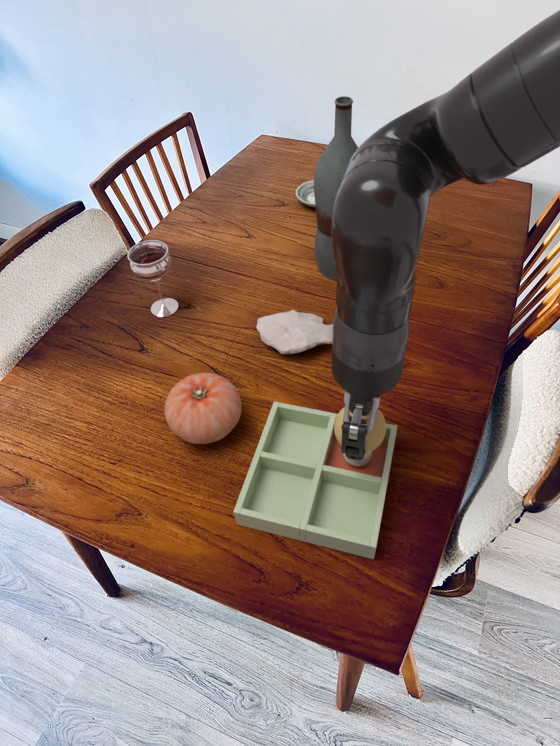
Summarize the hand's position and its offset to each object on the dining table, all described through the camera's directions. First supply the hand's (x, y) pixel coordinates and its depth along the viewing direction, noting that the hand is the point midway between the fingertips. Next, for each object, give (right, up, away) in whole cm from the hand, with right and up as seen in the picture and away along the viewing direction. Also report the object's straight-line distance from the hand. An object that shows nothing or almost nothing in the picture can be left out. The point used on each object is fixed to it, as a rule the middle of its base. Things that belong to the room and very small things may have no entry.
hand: (359, 433), depth 66 cm
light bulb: (0, -4, +5) cm, 6 cm away
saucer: (-2, +45, +48) cm, 65 cm away
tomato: (-21, 0, +11) cm, 23 cm away
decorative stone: (-7, +13, +21) cm, 26 cm away
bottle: (+1, +28, +33) cm, 43 cm away
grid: (-5, -7, +4) cm, 9 cm away
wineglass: (-31, +19, +28) cm, 46 cm away
